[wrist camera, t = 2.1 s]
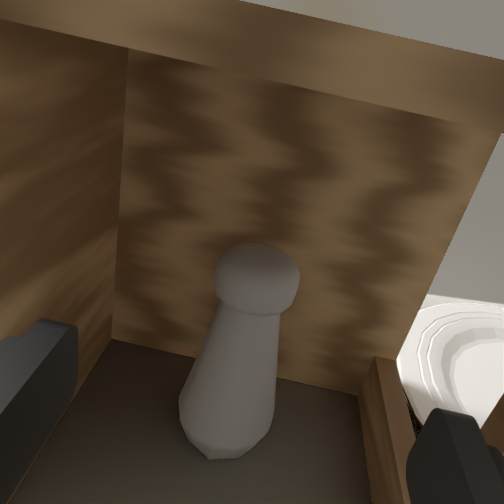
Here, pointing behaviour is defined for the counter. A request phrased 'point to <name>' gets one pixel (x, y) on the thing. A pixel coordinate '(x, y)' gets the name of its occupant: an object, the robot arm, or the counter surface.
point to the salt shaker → (239, 353)
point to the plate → (454, 360)
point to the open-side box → (237, 184)
